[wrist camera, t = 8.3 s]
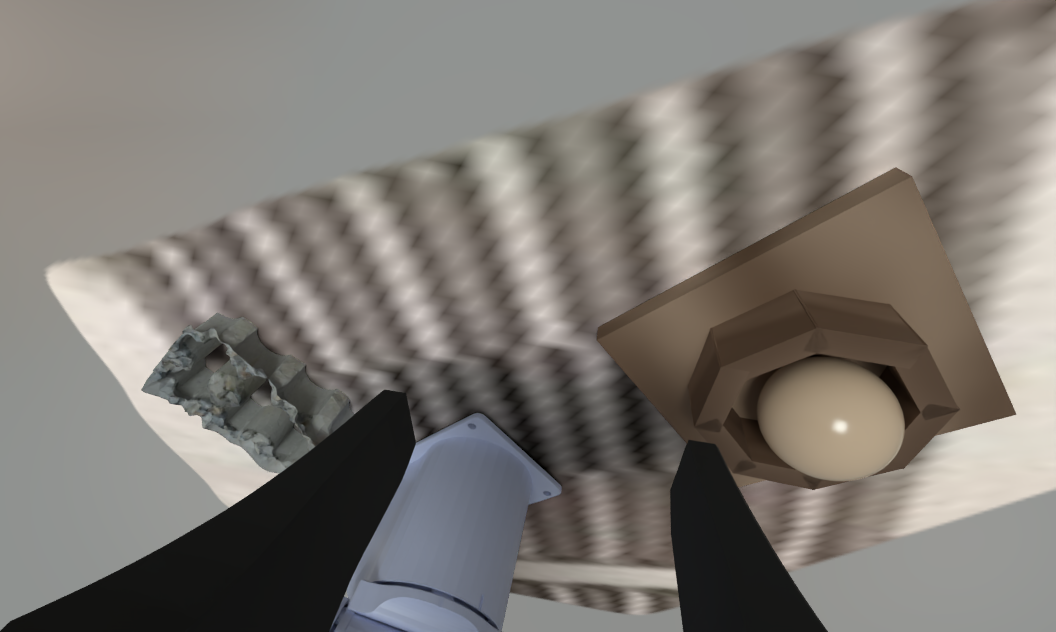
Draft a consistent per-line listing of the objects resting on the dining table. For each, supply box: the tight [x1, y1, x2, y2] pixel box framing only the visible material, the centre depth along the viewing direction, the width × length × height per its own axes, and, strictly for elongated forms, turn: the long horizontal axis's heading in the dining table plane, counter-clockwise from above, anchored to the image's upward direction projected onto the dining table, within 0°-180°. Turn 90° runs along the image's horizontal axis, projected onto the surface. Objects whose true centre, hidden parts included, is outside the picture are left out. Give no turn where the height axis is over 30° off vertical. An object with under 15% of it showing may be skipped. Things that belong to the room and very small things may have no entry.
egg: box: [757, 357, 905, 481], centre depth 16 cm, size 5×5×5 cm
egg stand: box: [597, 168, 1016, 490], centre depth 18 cm, size 12×12×4 cm
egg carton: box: [142, 313, 354, 473], centre depth 26 cm, size 11×8×4 cm
